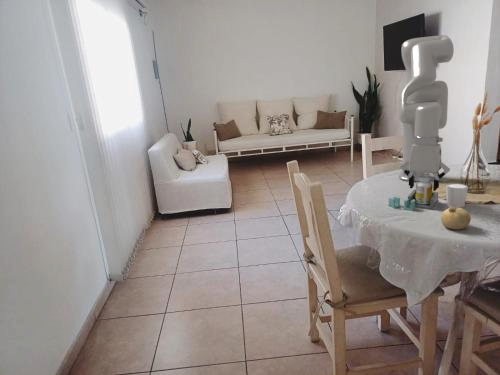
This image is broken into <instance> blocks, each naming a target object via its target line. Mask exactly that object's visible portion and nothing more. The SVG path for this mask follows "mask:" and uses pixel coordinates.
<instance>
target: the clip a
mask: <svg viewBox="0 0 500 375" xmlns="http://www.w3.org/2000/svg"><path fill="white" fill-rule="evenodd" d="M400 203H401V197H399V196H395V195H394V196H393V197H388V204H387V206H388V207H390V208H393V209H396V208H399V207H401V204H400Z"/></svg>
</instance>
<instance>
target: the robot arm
mask: <svg viewBox="0 0 500 375" xmlns="http://www.w3.org/2000/svg"><path fill="white" fill-rule="evenodd" d="M400 53H401V59H402V63H403V65H404V68H405V71H406V84H405V86H404V87H403V89H402V90H401V92H400V95H399V98H398V119H399V120H400V122H401V123H402V127H403V128H402V130H403V149H402V150H403V151H402V152H403V153H402V164H401V165H400V169H401V170H402V173H399V174H398V179H399V180H401V181H405V182H408V186H409V189H413V188H414V187H415V182H419V180H418V179H419V176H429V174H432V175H433V177H434V180H433V183H432V191H433V192H436V191H437V189H440V188H439V187H440V180H441V179H442V178H443V177H444V176H446V175H447V174H448V173H449V172H450V171H451V168H450V167H449V166H447V165H446V164H445V163H443V161H442V147H441V142H443V141H444V138H443V137H440V135H439V131H440V130H441V129H444V128H445V127H446V125H447V122H448V108H449V104H448V103H449V101H448V100H449V88H448V85H447V84H448V83H447V82H445V81H443V80H436V79H437V65H436V64H442V63H445V64H446V63H449V62H450V61H451V60H452V59H453V56H454V44H453V40H452V39H451V38H450V37H449V36H448V35H446V34H443V35H432V36H424V37H423V36H422V37H415V38H410V39H408V40H405V41H404V42H403V43H402V44H401V52H400ZM441 169H442V170H443V171H442V172H441V173H440V172H439V171H440V170H441Z"/></svg>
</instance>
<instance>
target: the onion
mask: <svg viewBox="0 0 500 375" xmlns="http://www.w3.org/2000/svg"><path fill="white" fill-rule="evenodd" d="M440 221H441V224H442V226H444V227H446V228H448V229H451V230H464V229H466V228H467V227H468V226H469V225H470V223H471V215H470V213H469V212H468V211H467V210H465V209H464V208H462V207H453V206H448V208H446V209H445V210H443V212H442V213H441V216H440Z"/></svg>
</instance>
